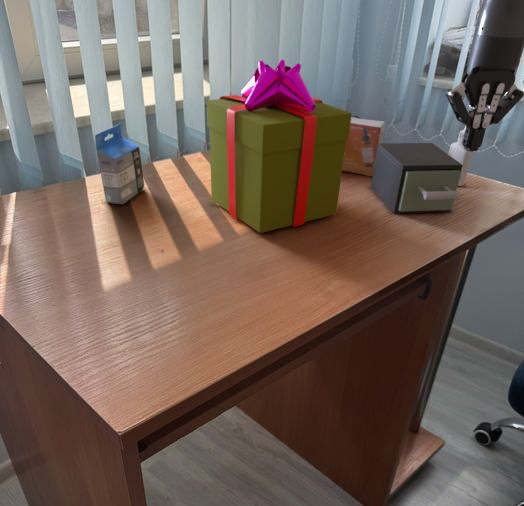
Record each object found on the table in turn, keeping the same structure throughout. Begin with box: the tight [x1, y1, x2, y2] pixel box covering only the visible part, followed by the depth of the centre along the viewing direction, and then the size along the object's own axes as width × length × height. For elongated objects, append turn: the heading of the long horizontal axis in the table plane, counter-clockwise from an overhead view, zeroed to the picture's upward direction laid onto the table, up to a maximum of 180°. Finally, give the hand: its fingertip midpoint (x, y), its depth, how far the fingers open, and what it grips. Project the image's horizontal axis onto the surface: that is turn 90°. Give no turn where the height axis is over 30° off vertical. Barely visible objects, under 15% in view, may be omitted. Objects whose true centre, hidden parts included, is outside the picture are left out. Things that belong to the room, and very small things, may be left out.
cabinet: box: [370, 142, 463, 215], centre depth 103 cm, size 14×12×9 cm
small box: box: [342, 117, 386, 177], centre depth 115 cm, size 8×6×10 cm
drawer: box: [398, 169, 461, 212], centre depth 100 cm, size 17×10×7 cm, turn 9°
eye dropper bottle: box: [447, 125, 474, 187], centre depth 111 cm, size 4×6×12 cm
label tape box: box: [94, 123, 146, 205], centre depth 98 cm, size 9×4×12 cm, turn 162°
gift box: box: [206, 59, 353, 234], centre depth 91 cm, size 21×21×25 cm
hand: (470, 149), depth 89 cm, fingers closed
